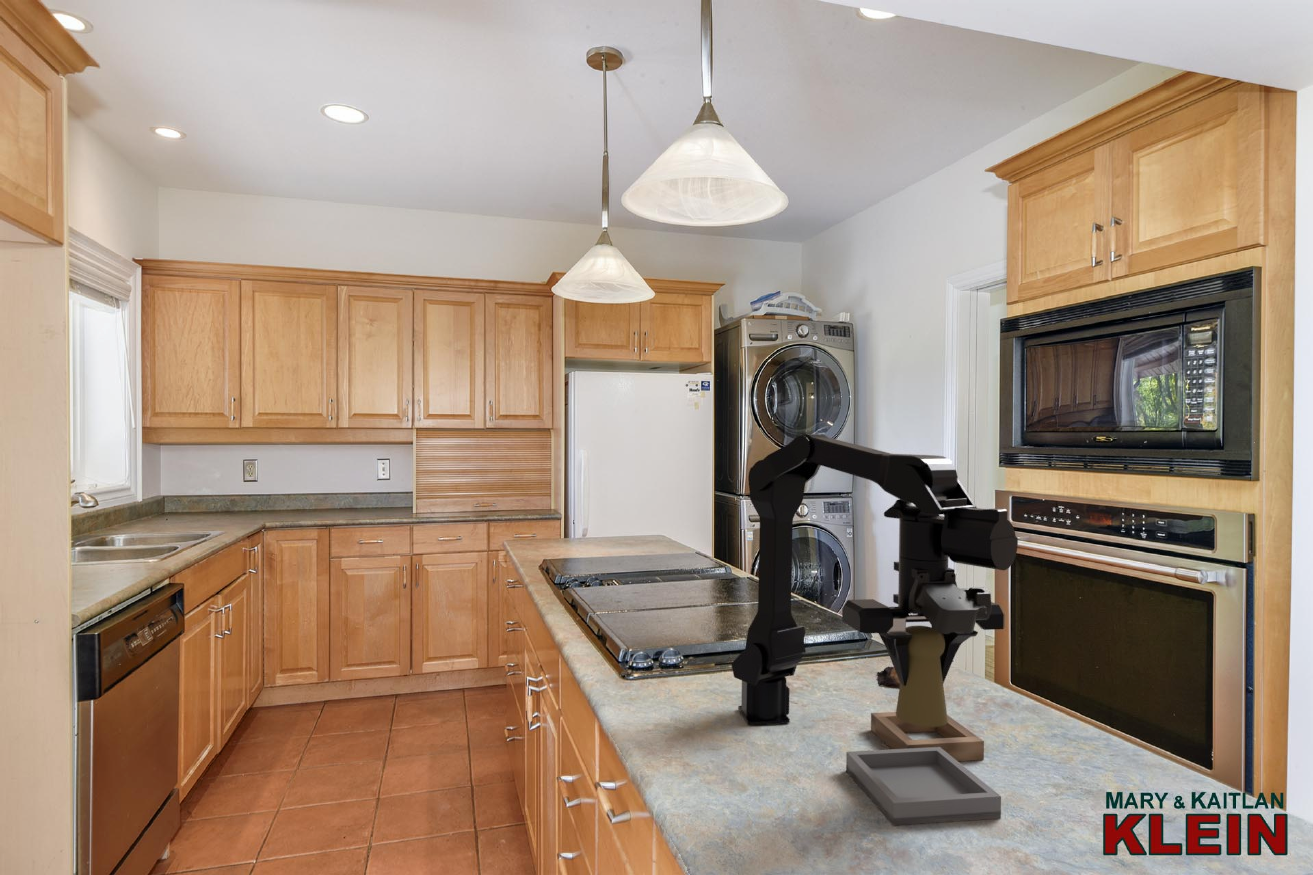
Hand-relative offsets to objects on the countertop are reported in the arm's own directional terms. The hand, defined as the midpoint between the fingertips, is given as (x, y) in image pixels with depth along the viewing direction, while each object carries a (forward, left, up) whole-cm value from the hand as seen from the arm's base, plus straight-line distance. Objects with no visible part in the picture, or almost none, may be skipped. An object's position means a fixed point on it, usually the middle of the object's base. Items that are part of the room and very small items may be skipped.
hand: (921, 684), depth 88 cm
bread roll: (+18, +37, -14) cm, 43 cm away
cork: (0, 0, -4) cm, 4 cm away
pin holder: (+7, +12, -13) cm, 19 cm away
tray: (-1, -1, -13) cm, 13 cm away
